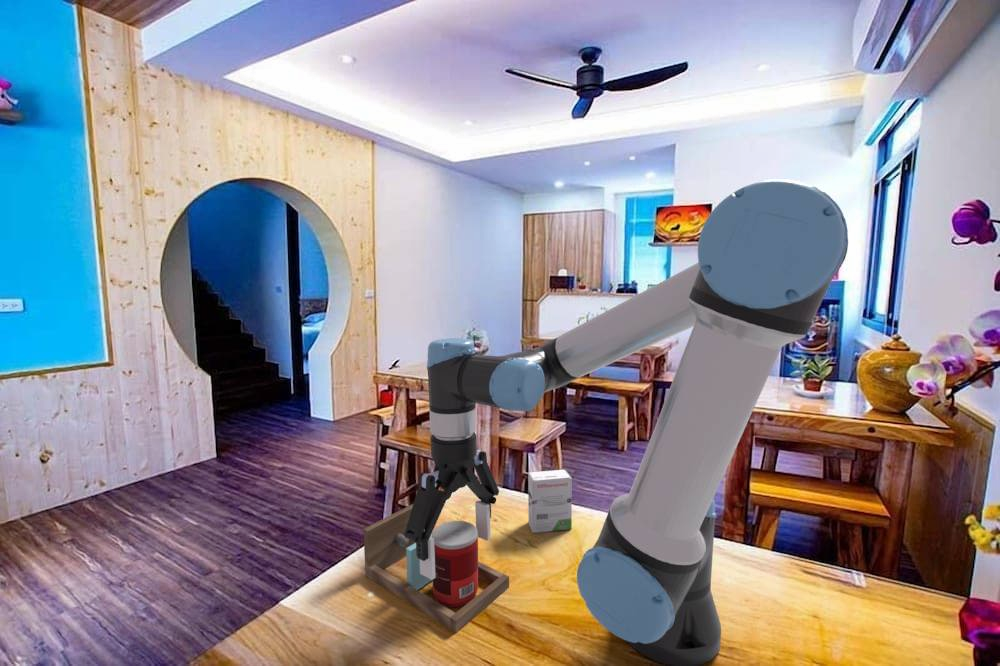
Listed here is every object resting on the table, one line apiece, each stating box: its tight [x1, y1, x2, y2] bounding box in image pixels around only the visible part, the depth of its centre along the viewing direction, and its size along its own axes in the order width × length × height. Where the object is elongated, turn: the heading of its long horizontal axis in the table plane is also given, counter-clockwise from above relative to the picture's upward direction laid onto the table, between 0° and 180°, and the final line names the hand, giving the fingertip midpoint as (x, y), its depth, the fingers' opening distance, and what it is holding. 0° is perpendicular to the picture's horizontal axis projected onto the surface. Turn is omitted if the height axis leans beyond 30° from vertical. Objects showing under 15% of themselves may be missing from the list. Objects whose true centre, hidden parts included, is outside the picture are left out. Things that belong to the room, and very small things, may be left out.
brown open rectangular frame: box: [363, 503, 510, 634], centre depth 84 cm, size 22×13×9 cm, turn 52°
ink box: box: [527, 469, 573, 534], centre depth 102 cm, size 9×5×12 cm, turn 99°
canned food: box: [432, 520, 479, 608], centre depth 81 cm, size 8×8×11 cm
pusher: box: [405, 534, 432, 591], centre depth 85 cm, size 3×10×8 cm, turn 142°
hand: (457, 555), depth 80 cm, fingers open, 13 cm apart
